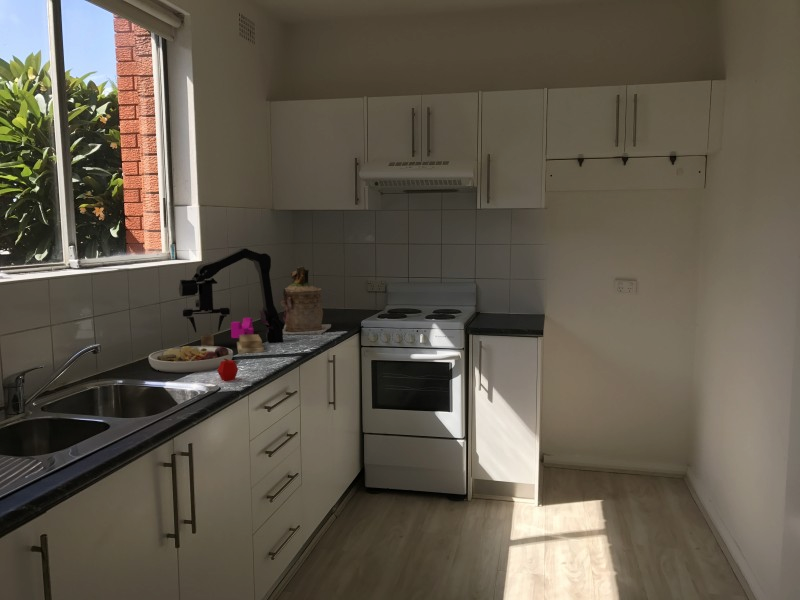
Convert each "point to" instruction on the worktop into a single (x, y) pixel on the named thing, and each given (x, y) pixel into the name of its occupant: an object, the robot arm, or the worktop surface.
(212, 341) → the walnut block
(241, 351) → the beech slab
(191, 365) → the bowl
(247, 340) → the oak slab
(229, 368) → the apple
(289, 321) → the cookie jar
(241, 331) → the toy block
